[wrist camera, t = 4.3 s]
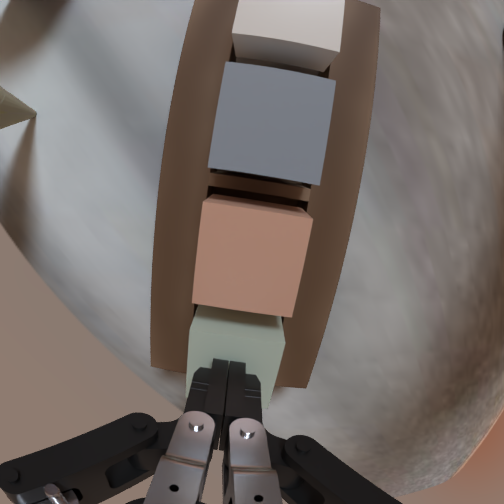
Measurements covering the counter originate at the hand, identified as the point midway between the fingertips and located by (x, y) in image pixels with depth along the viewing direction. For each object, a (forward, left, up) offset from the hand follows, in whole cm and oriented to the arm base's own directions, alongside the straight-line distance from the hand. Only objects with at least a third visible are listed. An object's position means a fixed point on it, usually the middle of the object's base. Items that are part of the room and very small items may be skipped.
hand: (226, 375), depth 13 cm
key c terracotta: (0, -5, -3) cm, 6 cm away
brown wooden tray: (0, -8, -7) cm, 11 cm away
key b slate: (0, -11, -3) cm, 11 cm away
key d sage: (0, 0, -3) cm, 3 cm away
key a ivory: (0, -16, -3) cm, 17 cm away
